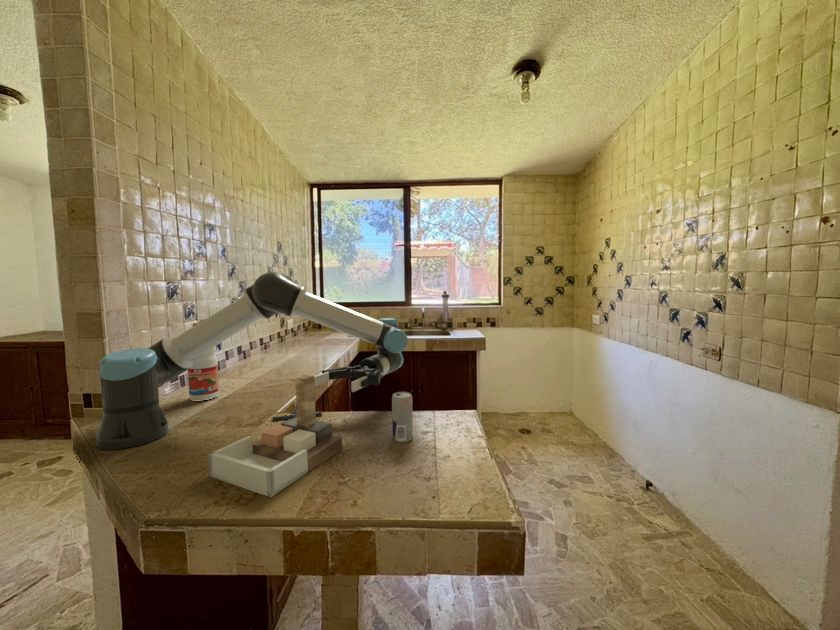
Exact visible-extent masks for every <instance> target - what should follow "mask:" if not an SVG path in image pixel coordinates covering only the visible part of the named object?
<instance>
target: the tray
mask: <svg viewBox="0 0 840 630" xmlns="http://www.w3.org/2000/svg"><path fill="white" fill-rule="evenodd" d="M252 443H253V436H251V435H248V436H245V437H243V438H241V439H239V440H237V441H234V442H232V443H230V444H227V445H226V446H223V447H221V448H219V449H217V450H214V451H213V452H210V453H208V469H209V470H208V471H209V477H210V478H213V479H214V480H215V479H216V480H218V481H221V482H224V483H227V484H231V485H234V486H236V487H238V488H242V489H244V490H248V491H251V492H254V493H257V494H261V495H263V496H266V497H269V498H272V497H273V496H276V495H277V494H278V493H280V492H281V491H282V490H284V489H285V488H287V487H289V486H290V485H291V484H293V483H294V482H296V481H297V480H299V479H300V478H302V477H303V476H304V475H306V474H308V473H309V472H308V459H307V450H305V449H303V450H302V451H300V452H298V453H296V454H295V455H293V456H291V457H290V458H288V459H286V460H284V461H283V462H281V461H278V460H274V459H271V458H267V457H263V456H260V455H256V454H253V446H252Z"/></svg>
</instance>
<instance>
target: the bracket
mask: <svg viewBox="0 0 840 630" xmlns="http://www.w3.org/2000/svg"><path fill="white" fill-rule="evenodd" d="M322 413H323V412H321V411H319V412H316V418H320V417H322V415H323V414H322ZM289 414H293V415H289V416H287V414H284V415H281V416H280V415H279V416H272V422H277V421H276V420H283V421H286V420H285V419H292V418H294V417H297V410H296V409H294V410H293V411H292V412H290V413H289ZM294 414H295V415H294Z"/></svg>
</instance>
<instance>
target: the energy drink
mask: <svg viewBox="0 0 840 630" xmlns="http://www.w3.org/2000/svg"><path fill="white" fill-rule="evenodd" d="M391 413H392V414H391V419H392V421H391V425H392V426H391V427H392V429H391V430H392V431H391V432H392V433H391V434H392V440H393V441H394V442H396V443H403V444H404V443H408V442H410V441H411V440H412V439H413V437H414V436H413V433H414V432H413V395H412V393H411V392H409V391H397V392H394V393H393V394H392V397H391Z"/></svg>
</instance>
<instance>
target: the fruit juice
mask: <svg viewBox="0 0 840 630" xmlns="http://www.w3.org/2000/svg"><path fill="white" fill-rule="evenodd" d="M199 323H200V322H193V323H192V327H194V326H195V325H197V324H199ZM216 351H217V345H216V346H215V347H213V348H212V349H210V350H208V351H207V352H205V353H204V354H202V355H200V356H199V357H197V358H196V359H194V360H193V364H192V367H190V368H189V369H187V379H188V381H187V382H188V397H189V401H191V400H204V399H210V398H213V397H216V396H218V395H219V396H220V385H219V384H220V383H219V382H220V381H219V363H218V357H217V355H216ZM219 396H218V397H219Z"/></svg>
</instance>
